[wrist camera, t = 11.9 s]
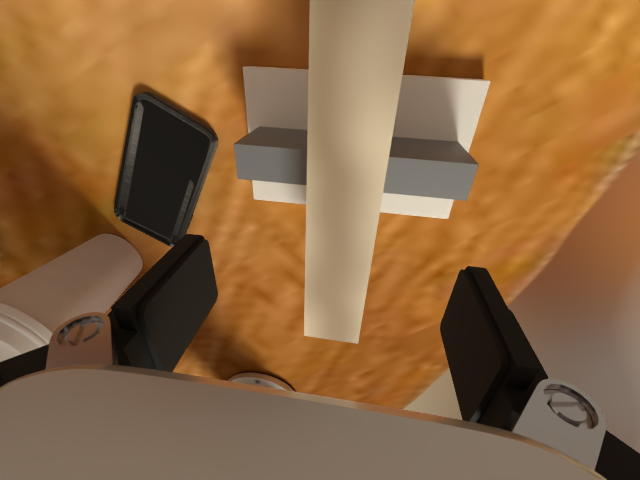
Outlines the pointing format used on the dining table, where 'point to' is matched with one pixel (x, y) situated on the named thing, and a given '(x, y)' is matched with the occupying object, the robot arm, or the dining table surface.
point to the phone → (162, 168)
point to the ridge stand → (405, 152)
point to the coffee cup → (64, 292)
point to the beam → (348, 151)
